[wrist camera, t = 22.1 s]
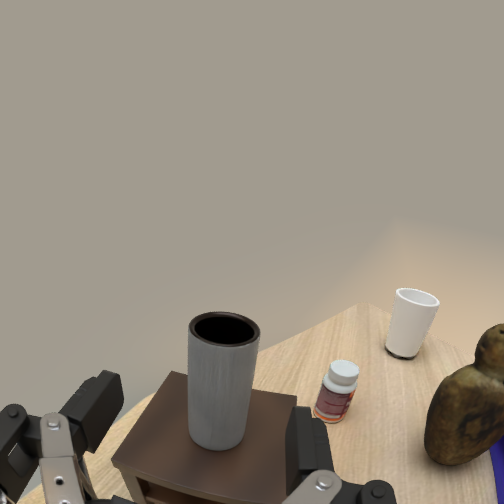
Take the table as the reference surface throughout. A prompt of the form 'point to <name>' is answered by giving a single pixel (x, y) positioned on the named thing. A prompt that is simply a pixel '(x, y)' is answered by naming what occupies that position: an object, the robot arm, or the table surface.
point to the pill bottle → (336, 391)
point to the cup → (410, 321)
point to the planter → (220, 377)
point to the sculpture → (469, 405)
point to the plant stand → (205, 453)
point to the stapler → (498, 467)
